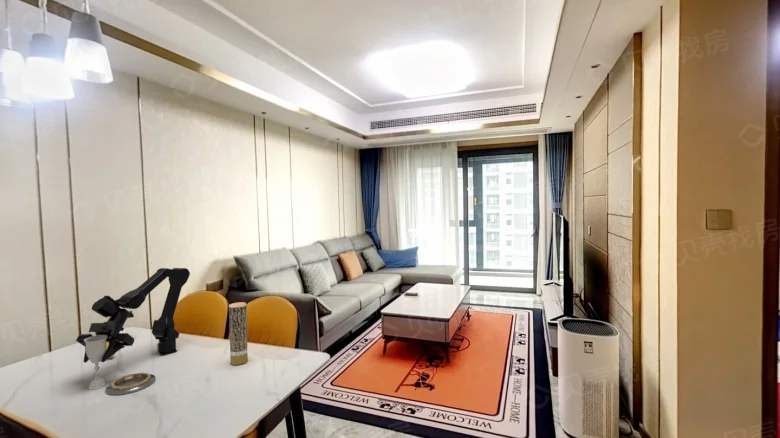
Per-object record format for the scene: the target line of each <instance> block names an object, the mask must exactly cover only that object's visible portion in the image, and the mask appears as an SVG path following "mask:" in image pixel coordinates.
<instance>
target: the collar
mask: <svg viewBox="0 0 780 438" xmlns="http://www.w3.org/2000/svg"><path fill="white" fill-rule="evenodd" d="M156 380H157V379H156V375H155V374H152V373H149V372H135V373H131V374H127V375H123V376H121V377H119V378H117V379H115V380H113V381H112V382H111V383H109V384H108V385H107V386H106V388H105V393H106V395H108V396H125V395H129V394H134V393H136V392H137V393H138V392H140V391H143V390H144V389H146V388H149V387H150V386H152V385H154V383H155V382H156Z"/></svg>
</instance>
